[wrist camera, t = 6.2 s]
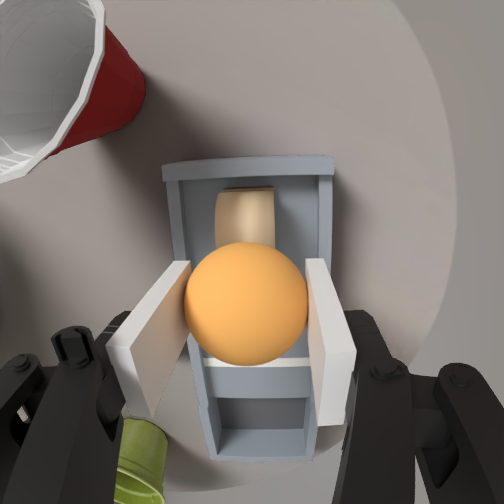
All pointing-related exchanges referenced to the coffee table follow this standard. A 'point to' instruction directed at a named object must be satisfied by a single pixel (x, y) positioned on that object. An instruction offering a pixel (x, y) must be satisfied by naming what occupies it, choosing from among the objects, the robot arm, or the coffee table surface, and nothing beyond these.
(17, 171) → the plastic cup
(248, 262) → the ball
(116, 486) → the plant pot
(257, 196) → the block
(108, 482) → the robot arm
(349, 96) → the coffee table surface
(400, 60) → the coffee table surface
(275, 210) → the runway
